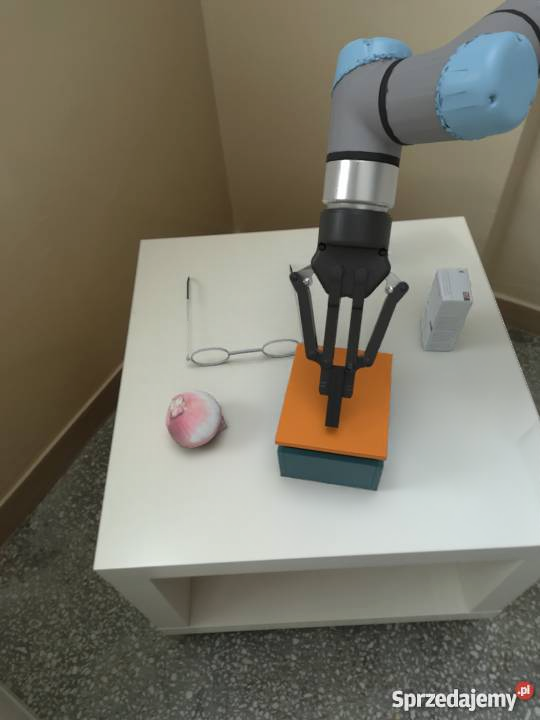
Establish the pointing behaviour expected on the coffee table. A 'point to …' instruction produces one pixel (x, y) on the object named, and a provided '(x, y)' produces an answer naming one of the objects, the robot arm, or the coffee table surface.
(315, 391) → the lid
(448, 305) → the cosmetic box
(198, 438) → the onion
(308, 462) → the box
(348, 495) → the coffee table surface
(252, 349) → the eyeglasses
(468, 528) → the coffee table surface
